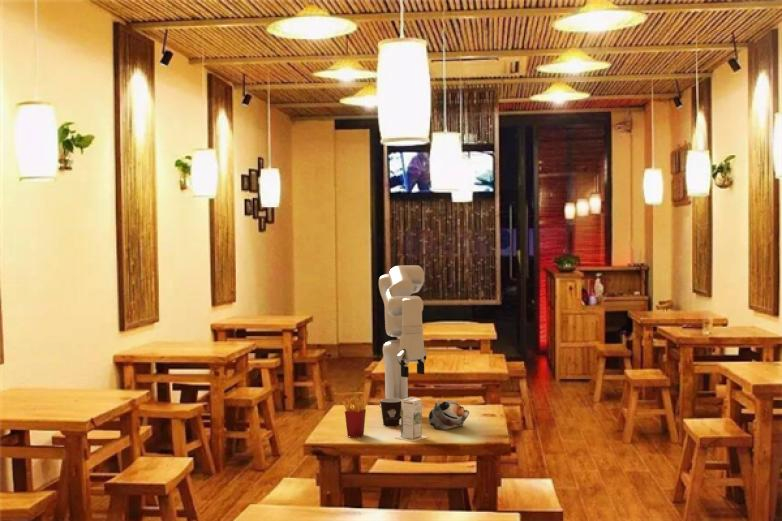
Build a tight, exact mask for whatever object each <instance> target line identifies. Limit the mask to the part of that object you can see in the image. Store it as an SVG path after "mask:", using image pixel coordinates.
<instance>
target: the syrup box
mask: <svg viewBox="0 0 782 521" xmlns="http://www.w3.org/2000/svg"><path fill="white" fill-rule="evenodd" d="M422 413H423V399H421V398H418V397H408V398H407V399H403V400H401V419H400V423H401V424H400V426H401V427H400V428H401V429H400V430H401V433H400V434H401V437H402V438H409V439H415V438H418V437H421V436H423V435H422V434H423V433H422V432H423V430H422V429H423V428H422V427H423V425H422V422H423V421H422V420H423V419H422V418H423V417H422V416H423V414H422Z"/></svg>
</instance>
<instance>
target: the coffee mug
mask: <svg viewBox="0 0 782 521" xmlns="http://www.w3.org/2000/svg"><path fill="white" fill-rule="evenodd" d="M380 404H381V407H380V408H381V418H382V423H383V424H382V425H383V426H384V425H385V426H384V427H388V426H394V427H399V426H400V423H401V416H400V412H401V399H396V398H387V399H385V398H382V399H380ZM398 425H399V426H398Z"/></svg>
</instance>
